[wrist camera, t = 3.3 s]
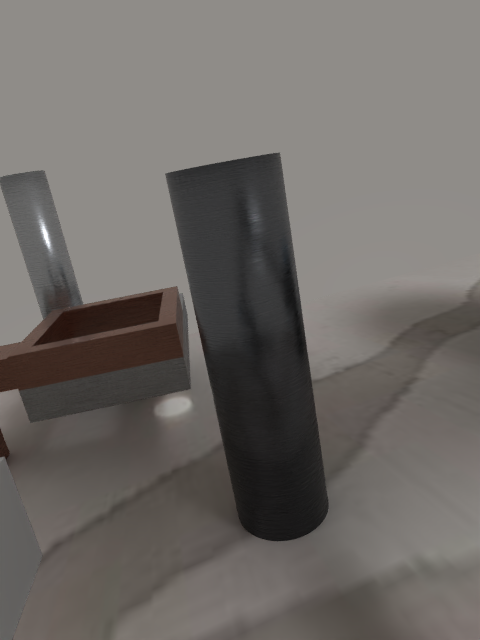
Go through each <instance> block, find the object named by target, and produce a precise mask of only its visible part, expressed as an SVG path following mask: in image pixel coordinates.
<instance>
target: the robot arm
mask: <svg viewBox="0 0 480 640" xmlns="http://www.w3.org/2000/svg"><path fill="white" fill-rule="evenodd" d="M42 556H43V555H42V552H41V550H40V547H39V545H38V542H37V539H36V537H35V534H34V532H33V529H32V526H31V524H30V521H29V519H28V516H27V513H26V511H25V508H24V506H23V503H22V501H21V498H20V495H19V493H18V490H17V488H16V485H15V482H14V480H13V477H12V475H11V472H10V470H9V467H8V464H7V462H6V459H5V457H0V640H12V639H13V636H14V633H15V630H16V628H17V625H18V622H19V619H20V617H21V614H22V611H23V608H24V606H25V603H26V600H27V597H28V595H29V592H30V589H31V586H32V584H33V581H34V578H35V575H36V573H37V570H38V567H39V565H40V562H41V559H42Z"/></svg>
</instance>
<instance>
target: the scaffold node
mask: <svg viewBox="0 0 480 640" xmlns="http://www.w3.org/2000/svg"><path fill="white" fill-rule="evenodd" d="M0 185H1V189H2V192H3V195H4V198H5V201H6V204H7V207H8V211H9V214H10V217H11V220H12V223H13V226H14V229H15V232H16V235H17V239H18V242H19V245H20V248H21V251H22V254H23V257H24V260H25V263H26V267H27V270H28V273H29V276H30V279H31V282H32V285H33V288H34V292H35V294H36V298H37V301H38V304H39V307H40V310H41V313H42V316H43V321H42V322H41V323H40V324H39V325H38V326H37V327H36V328H35V329H34V330H33V331H32V332H31V333H30V334H29V335H28V336H27V337H26V338H25V339H24V340H23V341H22V342H19V343H14V344H10V345H4V346H0V392H4V391H9V390H13V389H19V392H20V395H21V398H22V401H23V403H24V406H25V409H26V412H27V415H28V417H29V420H30V423H33V422H37V421H42V420H47V419H52V418H56V417H61V416H66V415H71V414H75V413H80V412H85V411H89V410H94V409H99V408H104V407H108V406H113V405H118V404H123V403H127V402H132V401H137V400H142V399H146V398H151V397H156V396H161V395H165V394H170V393H175V392H180V391H184V390H189V389H191V381H190V360H189V339H188V318H187V311H186V306H185V302H184V297H183V294H182V293H181V294H179V292H178V288H177V286H176V287H171V288H166V289H160V290H155V291H150V292H145V293H140V294H135V295H130V296H125V297H120V298H115V299H110V300H104V301H100V302H94V303H89V304H84V305H83V302H82V298H81V295H80V291H79V288H78V284H77V281H76V278H75V274H74V271H73V267H72V264H71V260H70V257H69V253H68V250H67V247H66V243H65V240H64V236H63V233H62V229H61V226H60V222H59V219H58V215H57V212H56V208H55V205H54V202H53V198H52V195H51V192H50V188H49V185H48V181H47V177H46V174H45V171H33V172H26V173H19V174H13V175H8V176H3V177H0ZM9 454H10V453H9V450H8V447H7V445H6V442H5V440H4V437H3V434H2V432H1V429H0V457H5V459H6V458H7V457H8V455H9Z"/></svg>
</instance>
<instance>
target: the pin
mask: <svg viewBox="0 0 480 640" xmlns="http://www.w3.org/2000/svg"><path fill="white" fill-rule="evenodd" d="M165 175H166V179H167V184H168V189H169V193H170V198H171V203H172V207H173V212H174V217H175V221H176V226H177V231H178V235H179V240H180V245H181V249H182V254H183V259H184V263H185V268H186V273H187V277H188V282H189V287H190V291H191V296H192V301H193V305H194V310H195V315H196V319H197V324H198V328H199V333H200V338H201V343H202V347H203V352H204V357H205V361H206V366H207V371H208V375H209V380H210V385H211V389H212V394H213V399H214V403H215V408H216V413H217V418H218V422H219V427H220V432H221V436H222V441H223V446H224V450H225V455H226V460H227V464H228V469H229V474H230V478H231V483H232V488H233V492H234V497H235V502H236V506H237V511H238V516H239V519H240V522H241V524H242V525H243V527H244V528H245V529H246V530H247V531H248V532H250V533H251V534H253V535H255V536H257V537H259V538H262V539H266V540H273V541H283V540H291V539H295V538H298V537H301V536H304V535H306V534H308V533H310V532H311V531H313V530H314V529H315V528H317V527H318V526H319V525H320V524H321V522H322V521H323V520H324V518H325V517H326V514H327V512H328V497H327V489H326V482H325V475H324V468H323V460H322V453H321V446H320V439H319V432H318V424H317V417H316V410H315V403H314V395H313V388H312V381H311V374H310V366H309V359H308V352H307V345H306V338H305V330H304V323H303V316H302V309H301V301H300V294H299V287H298V280H297V272H296V265H295V258H294V251H293V244H292V237H291V229H290V222H289V215H288V208H287V200H286V193H285V186H284V178H283V171H282V164H281V157H280V153H273V154H267V155H261V156H255V157H249V158H243V159H237V160H232V161H226V162H221V163H215V164H210V165H205V166H199V167H194V168H190V169H184V170H179V171H175V172H170V173H167V174H165Z"/></svg>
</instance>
